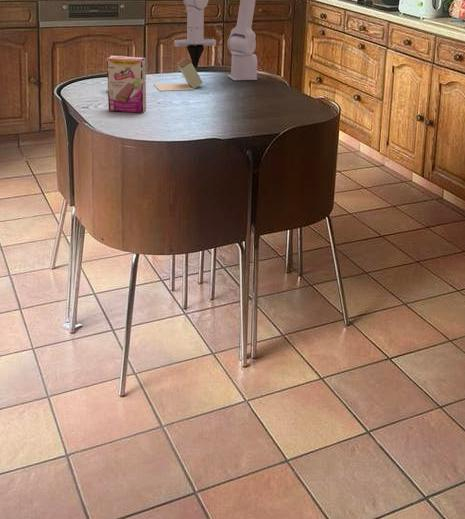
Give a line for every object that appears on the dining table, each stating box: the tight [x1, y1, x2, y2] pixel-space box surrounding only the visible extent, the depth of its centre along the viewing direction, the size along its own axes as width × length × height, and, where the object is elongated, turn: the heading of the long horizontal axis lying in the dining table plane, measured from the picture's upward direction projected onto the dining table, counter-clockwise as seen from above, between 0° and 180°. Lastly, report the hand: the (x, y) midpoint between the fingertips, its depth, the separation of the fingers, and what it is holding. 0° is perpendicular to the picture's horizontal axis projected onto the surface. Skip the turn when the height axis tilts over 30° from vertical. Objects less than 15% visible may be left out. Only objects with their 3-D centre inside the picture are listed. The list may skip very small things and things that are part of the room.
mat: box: [153, 82, 194, 92], centre depth 259 cm, size 12×10×1 cm
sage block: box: [175, 57, 204, 90], centre depth 258 cm, size 4×7×9 cm
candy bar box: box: [106, 55, 147, 114], centre depth 225 cm, size 11×5×16 cm, turn 84°
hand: (195, 66), depth 258 cm, fingers closed
